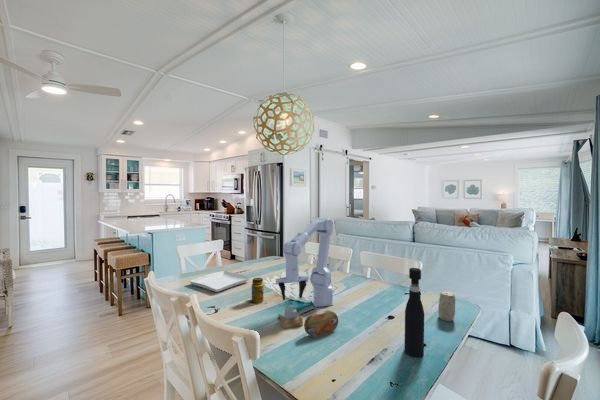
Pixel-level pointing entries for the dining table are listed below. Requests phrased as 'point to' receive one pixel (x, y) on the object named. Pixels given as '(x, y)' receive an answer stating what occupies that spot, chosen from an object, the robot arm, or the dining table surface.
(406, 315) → the wine bottle
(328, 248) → the robot arm
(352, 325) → the dining table surface
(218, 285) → the square plate
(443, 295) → the beige upright cylinder
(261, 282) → the condiment
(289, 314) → the panel block
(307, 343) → the dining table surface
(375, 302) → the dining table surface
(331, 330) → the tin
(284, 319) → the wooden frame
